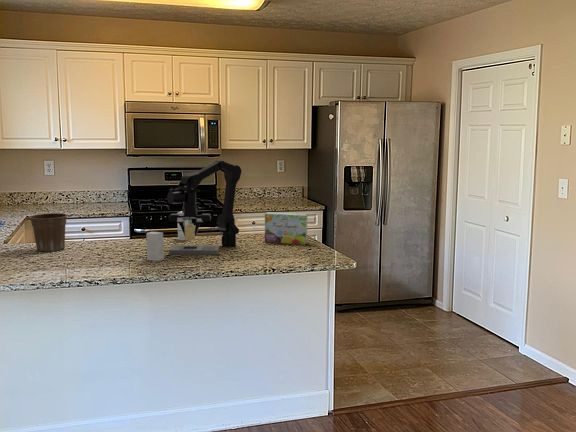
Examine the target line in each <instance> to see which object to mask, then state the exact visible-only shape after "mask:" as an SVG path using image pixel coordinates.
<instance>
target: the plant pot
mask: <svg viewBox="0 0 576 432" xmlns="http://www.w3.org/2000/svg"><path fill="white" fill-rule="evenodd" d="M67 217H68V214H66V213H61V212H59V213H58V212H57V213H55V212H52V213H38V214H34V215H30V216H29V219H30V222H31V227H32V229H33V234H34V240H35V247H36V251H37V252H39V253H40V252H43V253H54V252H59V251H61V250H64V249H65V248H66V246H65V245H66V243H65V242H66V224H67Z"/></svg>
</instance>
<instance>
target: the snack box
mask: <svg viewBox="0 0 576 432" xmlns="http://www.w3.org/2000/svg"><path fill="white" fill-rule="evenodd" d="M264 242H265V243H272V242H273V243H274V244H275V243H276V244H291V245H303V246H304V245H306V244H307V243H308V213H295V212H294V213H290V212H277V211H276V212H273V211H271V212H270V211H268V212H265V213H264Z"/></svg>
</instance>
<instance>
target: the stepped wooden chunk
mask: <svg viewBox="0 0 576 432" xmlns="http://www.w3.org/2000/svg"><path fill="white" fill-rule="evenodd" d="M195 227H196V224H195V225H194V223H192V224H188V225H186V226H185V240H184V241H195V240H196V239H197V235H196V236H195Z"/></svg>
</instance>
